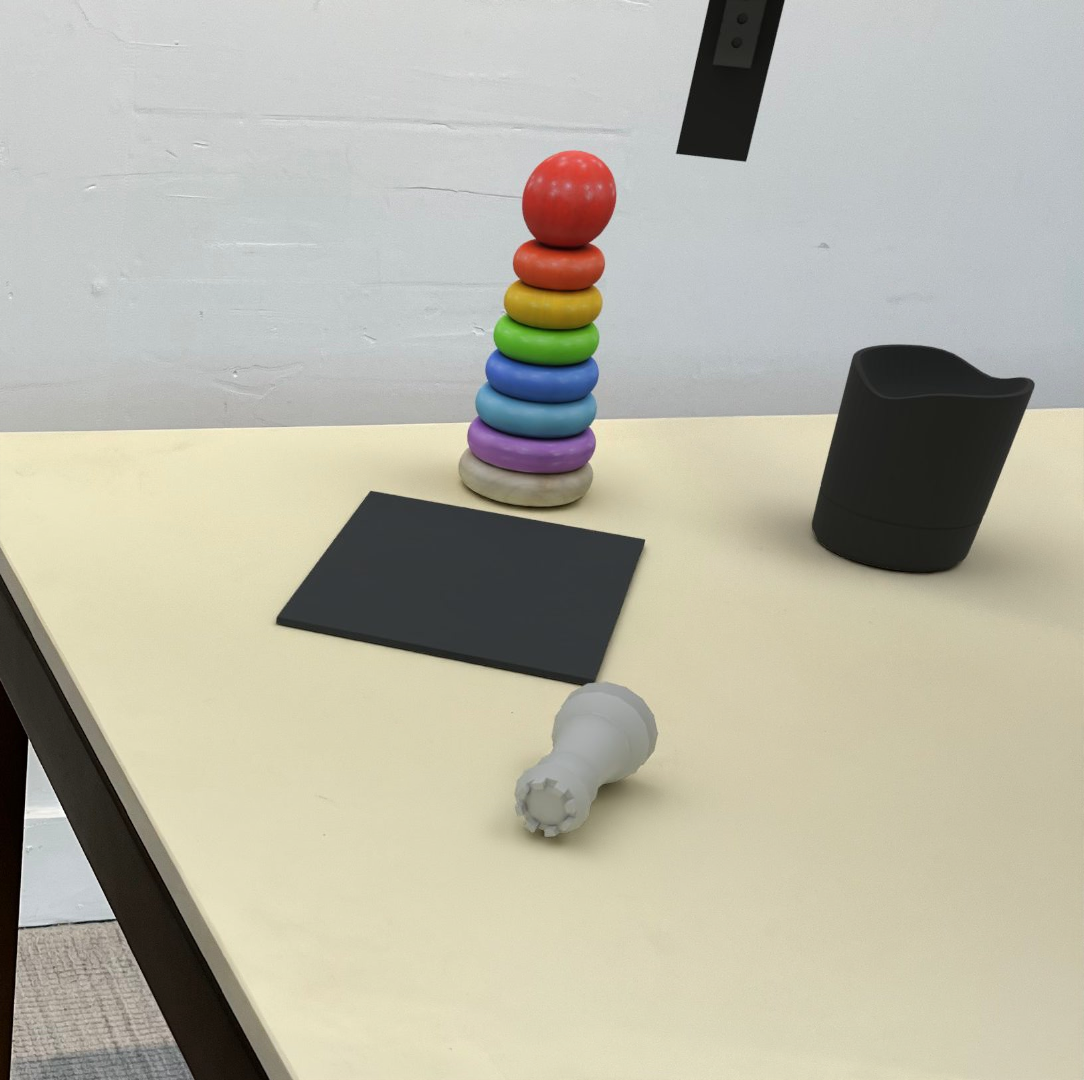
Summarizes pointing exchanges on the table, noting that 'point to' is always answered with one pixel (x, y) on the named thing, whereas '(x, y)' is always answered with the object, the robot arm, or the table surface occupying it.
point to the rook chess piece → (585, 756)
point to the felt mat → (470, 586)
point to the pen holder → (915, 457)
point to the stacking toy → (546, 345)
